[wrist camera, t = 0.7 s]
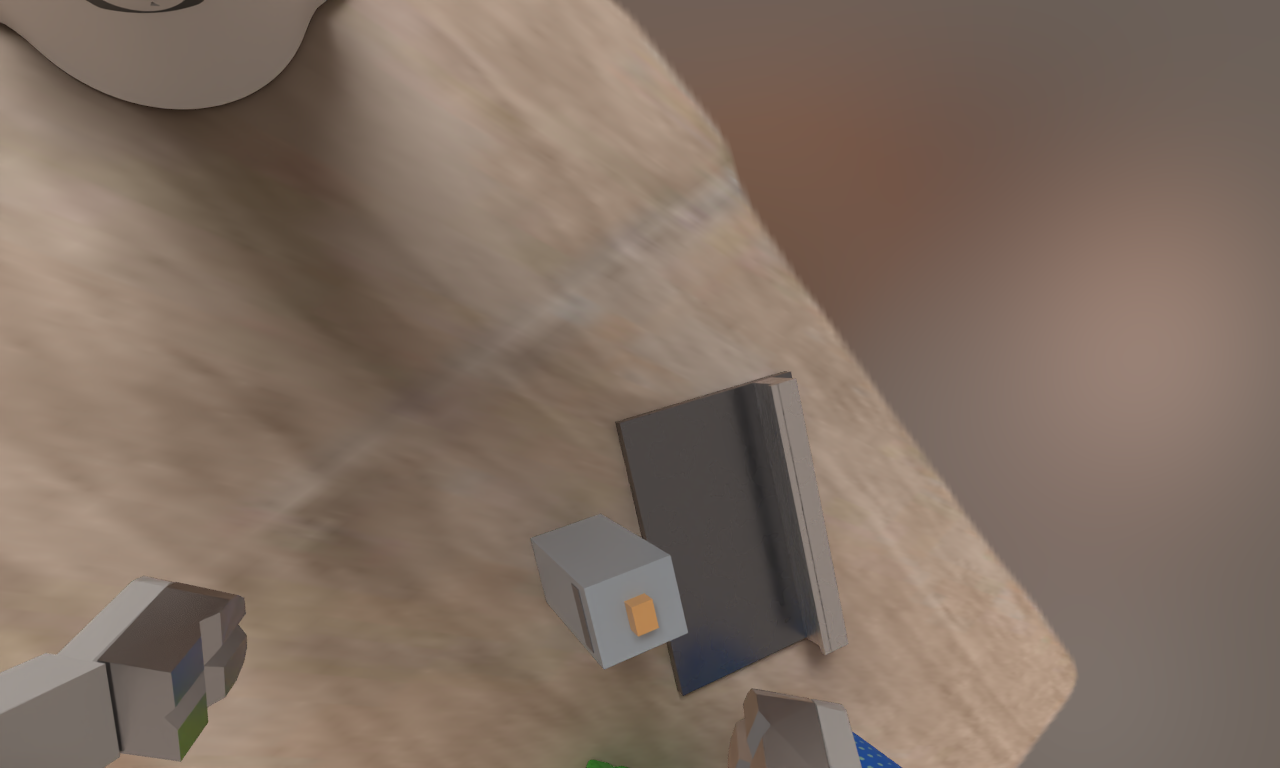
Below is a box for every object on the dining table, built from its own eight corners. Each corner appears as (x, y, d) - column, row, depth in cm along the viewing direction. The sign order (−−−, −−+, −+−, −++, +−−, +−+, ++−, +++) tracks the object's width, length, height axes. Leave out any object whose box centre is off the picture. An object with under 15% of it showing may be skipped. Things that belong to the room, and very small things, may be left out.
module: (529, 538, 46) (589, 594, 35) (601, 513, 48) (679, 559, 37) (546, 602, 47) (609, 678, 36) (616, 575, 49) (697, 639, 38)
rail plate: (615, 422, 48) (637, 427, 45) (784, 371, 53) (815, 372, 50) (677, 690, 51) (702, 715, 47) (833, 617, 56) (866, 635, 53)
